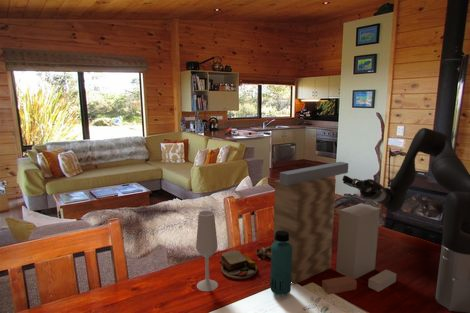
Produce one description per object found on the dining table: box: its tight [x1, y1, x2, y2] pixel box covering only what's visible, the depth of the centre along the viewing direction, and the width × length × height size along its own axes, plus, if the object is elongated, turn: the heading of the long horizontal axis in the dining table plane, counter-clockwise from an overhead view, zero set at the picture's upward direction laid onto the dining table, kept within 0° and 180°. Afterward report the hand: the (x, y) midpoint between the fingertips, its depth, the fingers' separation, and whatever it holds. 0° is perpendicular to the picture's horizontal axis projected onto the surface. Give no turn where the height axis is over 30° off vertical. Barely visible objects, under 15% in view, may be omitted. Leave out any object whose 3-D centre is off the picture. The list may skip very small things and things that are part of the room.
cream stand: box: [335, 202, 381, 280], centre depth 115 cm, size 12×7×22 cm, turn 126°
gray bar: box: [279, 161, 349, 186], centre depth 114 cm, size 30×4×4 cm, turn 126°
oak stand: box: [272, 177, 337, 284], centre depth 114 cm, size 18×10×32 cm, turn 126°
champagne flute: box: [195, 210, 219, 292], centre depth 105 cm, size 7×7×24 cm
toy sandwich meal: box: [218, 250, 258, 280], centre depth 116 cm, size 12×14×5 cm
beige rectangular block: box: [367, 269, 397, 293], centre depth 108 cm, size 10×4×3 cm, turn 126°
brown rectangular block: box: [321, 275, 358, 295], centre depth 105 cm, size 10×4×3 cm, turn 106°
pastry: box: [255, 245, 271, 261], centre depth 127 cm, size 7×12×4 cm, turn 95°
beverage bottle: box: [269, 230, 292, 296], centre depth 101 cm, size 6×7×20 cm
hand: (354, 180), depth 127 cm, fingers open, 8 cm apart
